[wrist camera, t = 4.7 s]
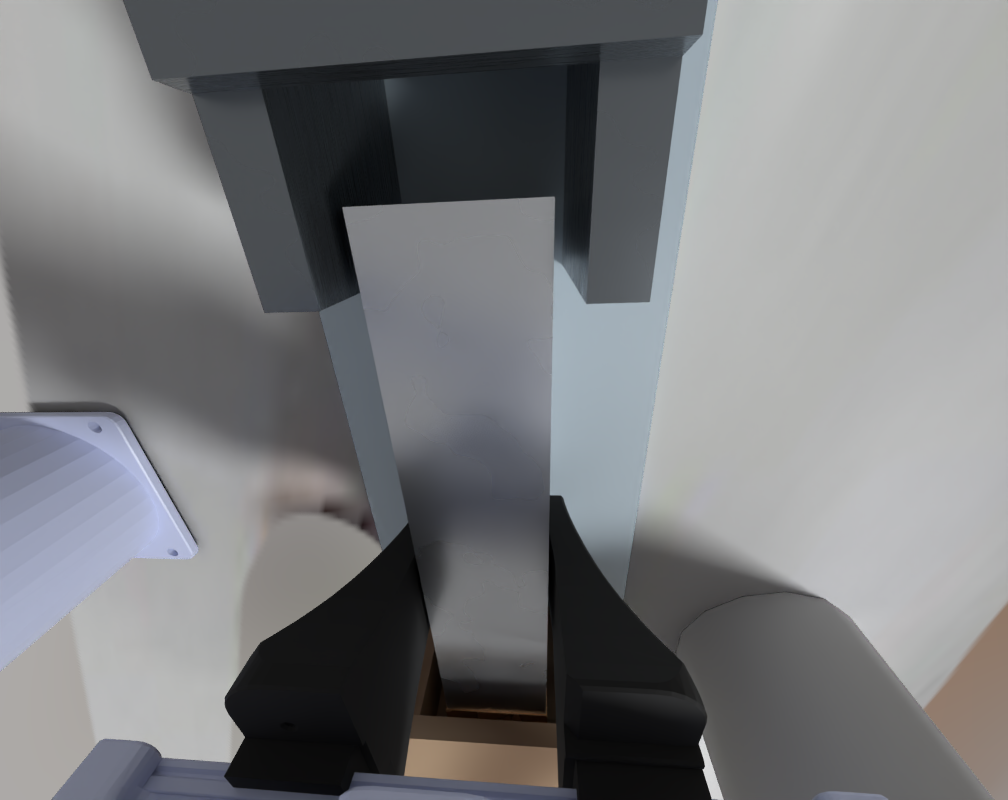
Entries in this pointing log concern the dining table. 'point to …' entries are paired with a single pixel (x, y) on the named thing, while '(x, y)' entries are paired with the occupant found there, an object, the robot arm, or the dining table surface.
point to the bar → (470, 428)
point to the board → (576, 325)
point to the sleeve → (367, 131)
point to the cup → (812, 707)
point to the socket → (480, 736)
